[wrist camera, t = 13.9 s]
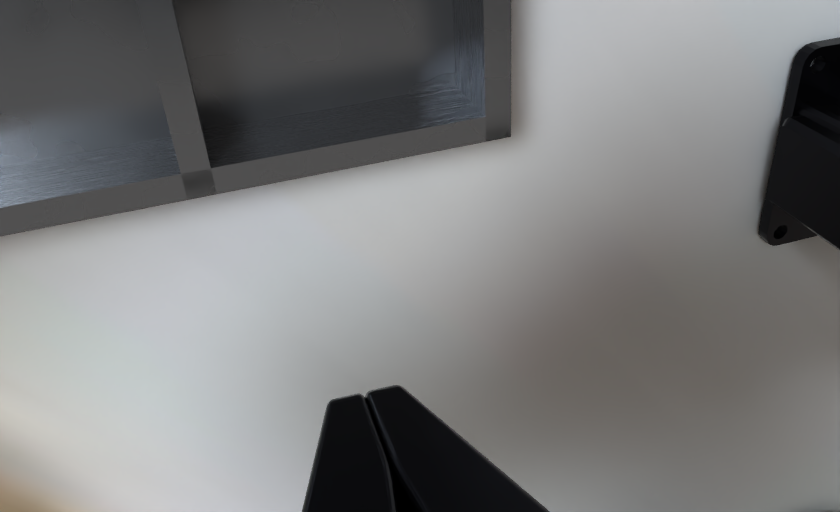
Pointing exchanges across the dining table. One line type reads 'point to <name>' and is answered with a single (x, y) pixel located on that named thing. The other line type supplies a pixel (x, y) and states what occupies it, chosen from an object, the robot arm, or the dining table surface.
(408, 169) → the dining table surface
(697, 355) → the dining table surface
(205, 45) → the grey compartment tray
